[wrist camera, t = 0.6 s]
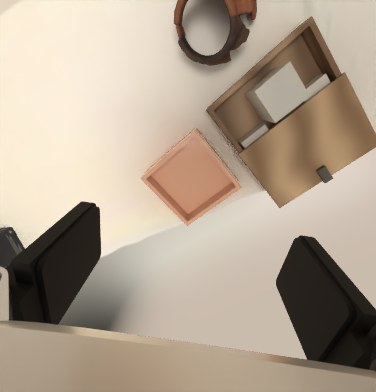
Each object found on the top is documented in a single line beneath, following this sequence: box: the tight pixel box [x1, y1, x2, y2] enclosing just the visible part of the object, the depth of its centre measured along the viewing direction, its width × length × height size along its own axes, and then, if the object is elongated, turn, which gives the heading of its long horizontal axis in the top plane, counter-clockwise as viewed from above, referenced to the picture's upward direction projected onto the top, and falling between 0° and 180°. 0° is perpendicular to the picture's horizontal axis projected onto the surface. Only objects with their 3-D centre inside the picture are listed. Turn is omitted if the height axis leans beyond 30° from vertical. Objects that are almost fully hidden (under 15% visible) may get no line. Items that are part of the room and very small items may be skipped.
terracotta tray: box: [141, 128, 241, 226], centre depth 34 cm, size 11×11×3 cm
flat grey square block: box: [239, 123, 269, 149], centre depth 31 cm, size 4×4×2 cm
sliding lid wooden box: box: [206, 16, 376, 208], centre depth 29 cm, size 16×19×4 cm
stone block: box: [244, 62, 310, 123], centre depth 27 cm, size 4×4×6 cm
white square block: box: [300, 74, 331, 105], centre depth 28 cm, size 4×4×2 cm
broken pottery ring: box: [174, 0, 257, 65], centre depth 24 cm, size 12×10×8 cm
